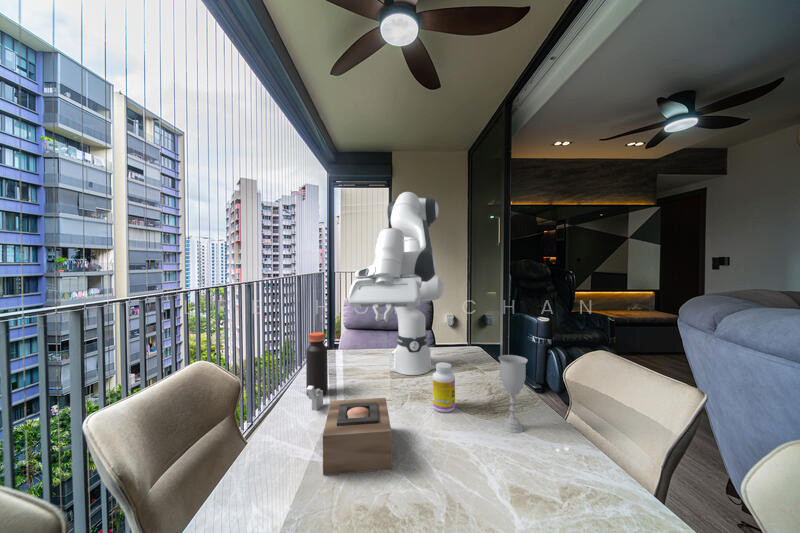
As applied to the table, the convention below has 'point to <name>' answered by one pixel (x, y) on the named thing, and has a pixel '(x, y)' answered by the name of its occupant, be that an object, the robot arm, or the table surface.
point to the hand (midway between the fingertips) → (381, 321)
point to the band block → (357, 438)
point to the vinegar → (317, 363)
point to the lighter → (315, 397)
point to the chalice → (512, 386)
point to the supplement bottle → (443, 388)
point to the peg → (358, 412)
